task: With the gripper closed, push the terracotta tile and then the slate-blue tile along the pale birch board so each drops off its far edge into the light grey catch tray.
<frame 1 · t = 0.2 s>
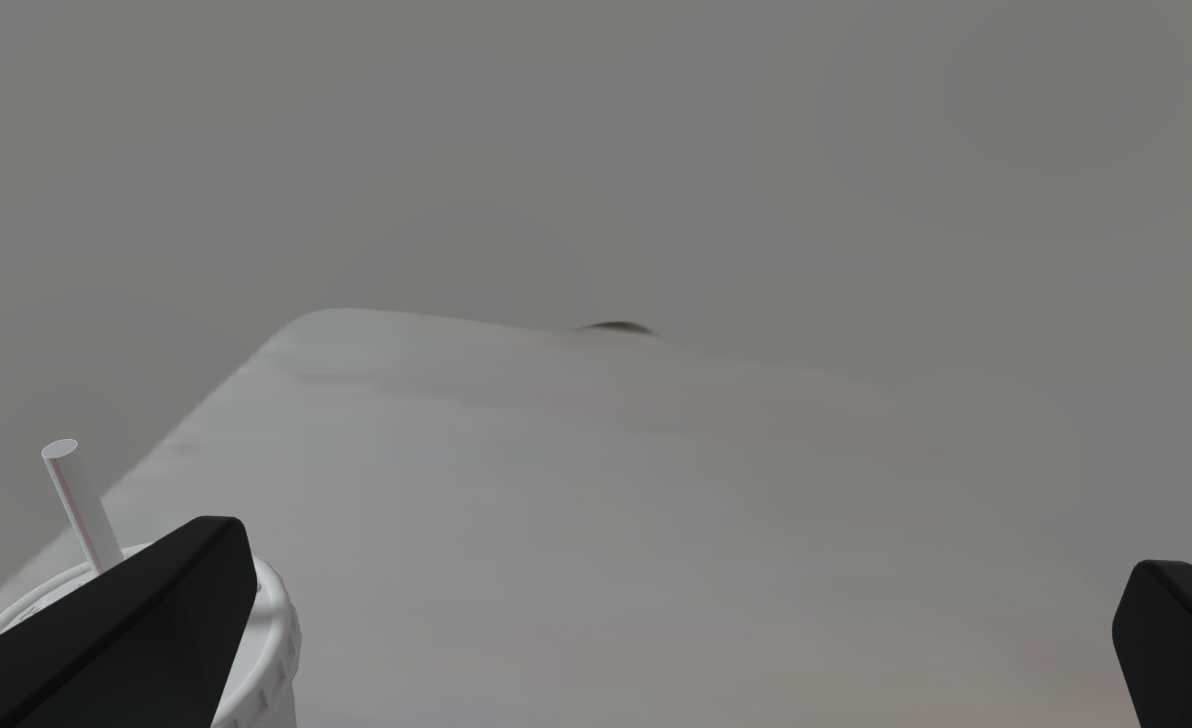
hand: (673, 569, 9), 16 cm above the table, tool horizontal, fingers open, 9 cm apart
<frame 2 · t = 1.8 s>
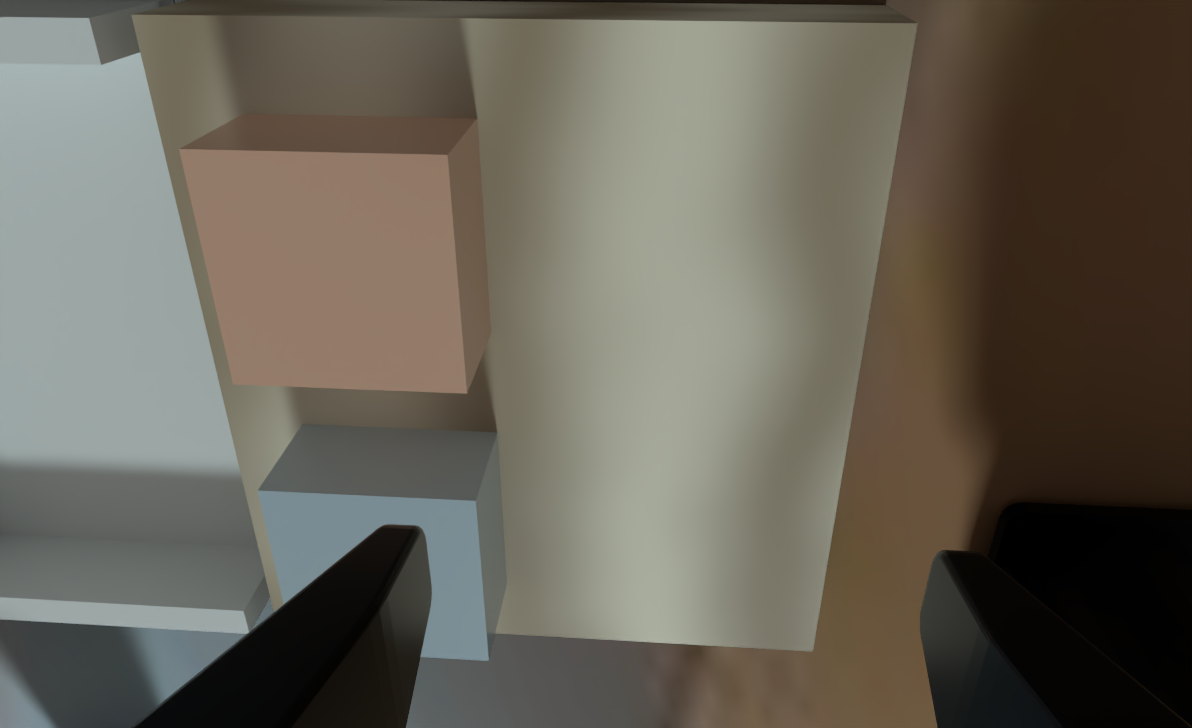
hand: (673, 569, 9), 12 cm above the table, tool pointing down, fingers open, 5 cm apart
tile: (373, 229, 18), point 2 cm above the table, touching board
tray: (69, 317, 22), on the table
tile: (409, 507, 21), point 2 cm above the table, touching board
board: (542, 333, 21), on the table
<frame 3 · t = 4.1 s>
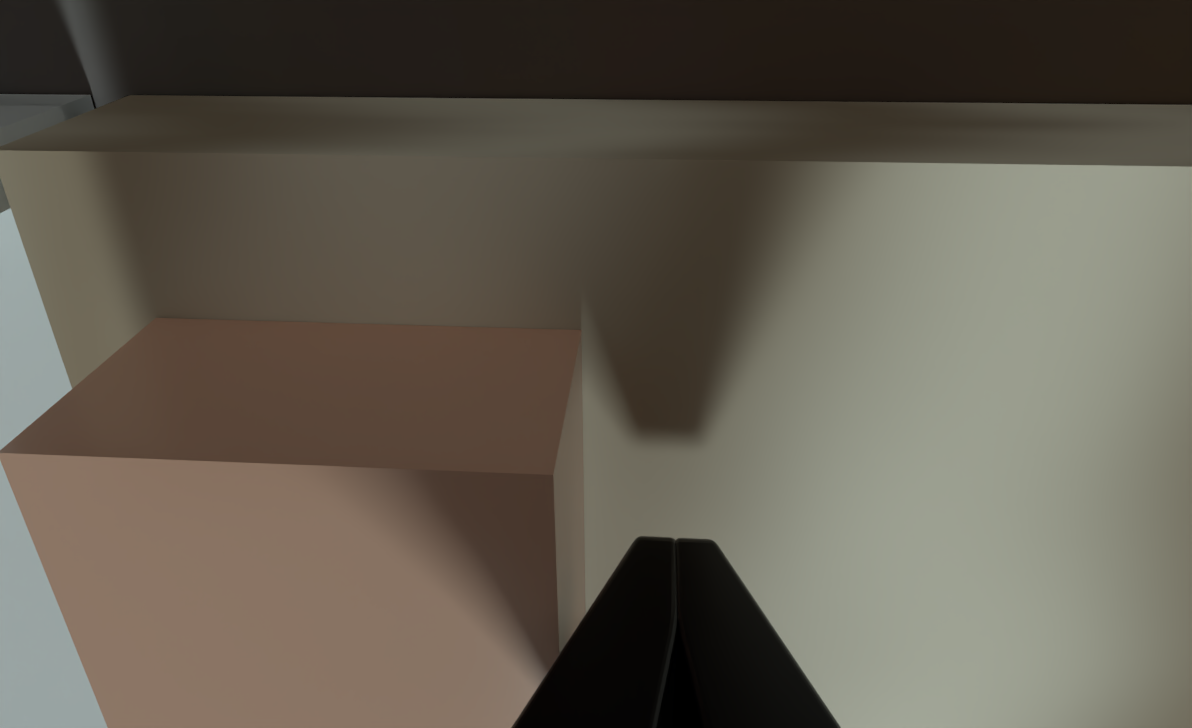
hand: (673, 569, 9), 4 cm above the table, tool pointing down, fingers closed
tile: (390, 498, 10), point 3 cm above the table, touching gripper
board: (682, 587, 14), on the table
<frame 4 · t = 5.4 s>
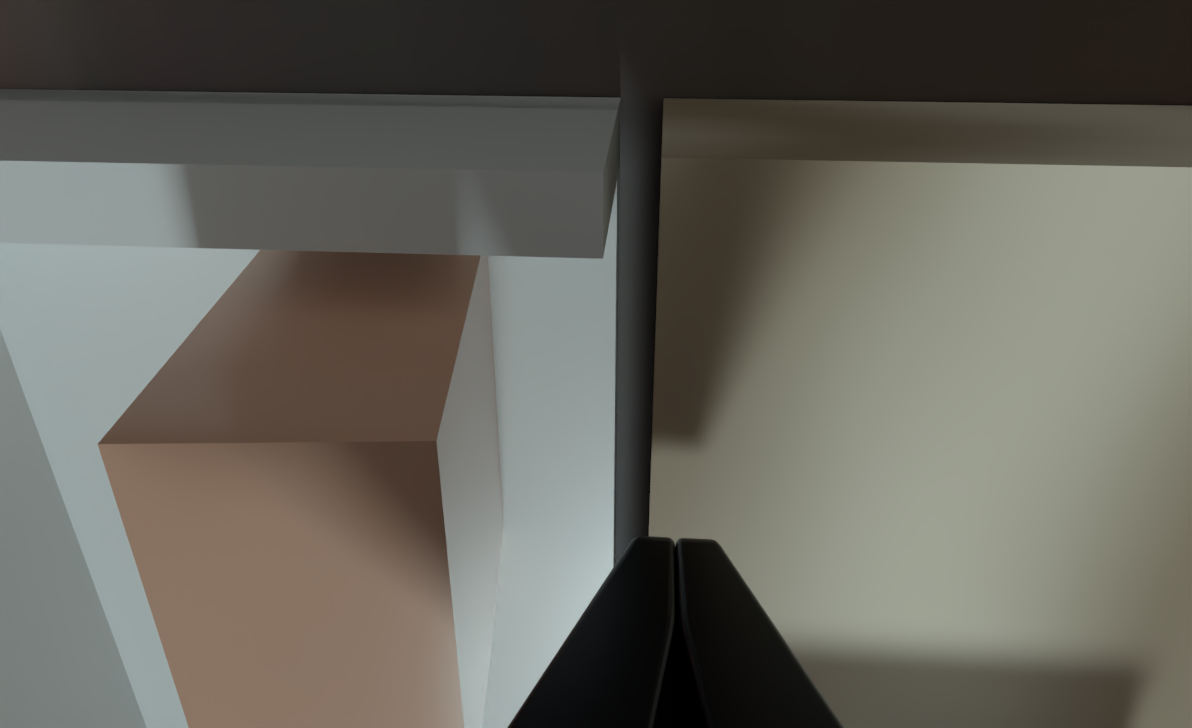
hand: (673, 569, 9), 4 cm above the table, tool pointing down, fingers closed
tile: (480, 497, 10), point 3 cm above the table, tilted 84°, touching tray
tray: (336, 569, 14), on the table
board: (1108, 609, 13), on the table
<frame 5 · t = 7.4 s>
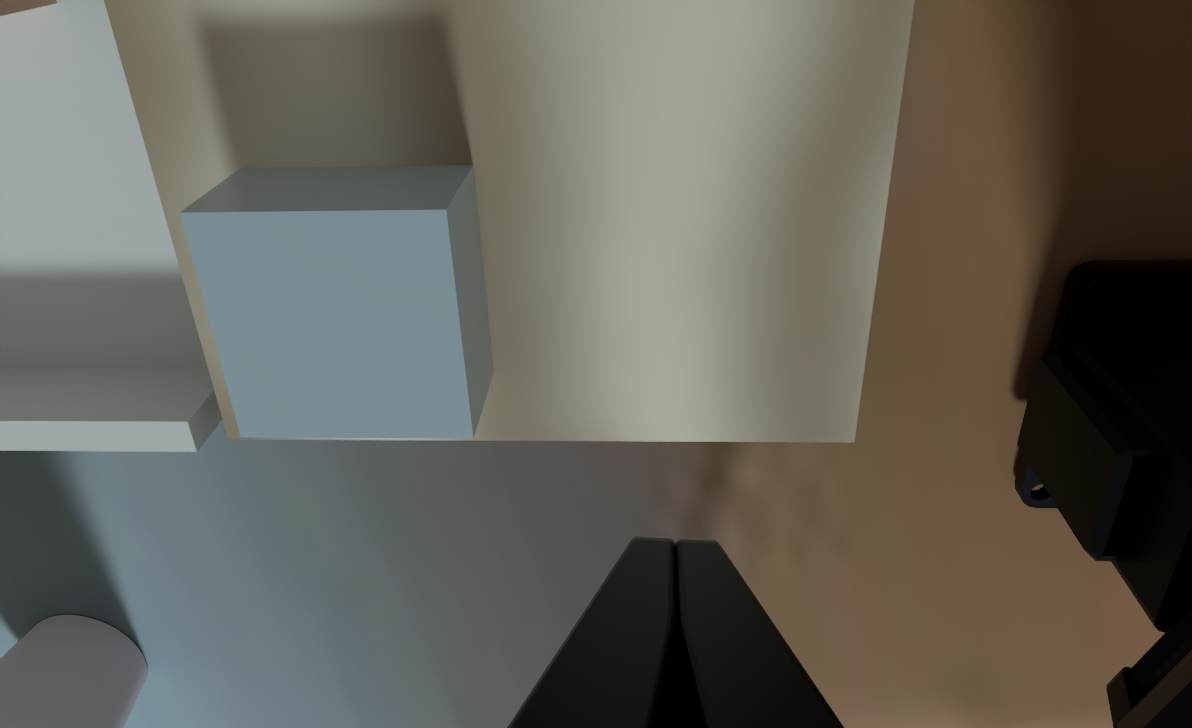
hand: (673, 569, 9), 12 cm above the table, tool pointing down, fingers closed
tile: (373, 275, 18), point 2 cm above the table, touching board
smoothie: (91, 652, 28), on the table
board: (524, 69, 18), on the table
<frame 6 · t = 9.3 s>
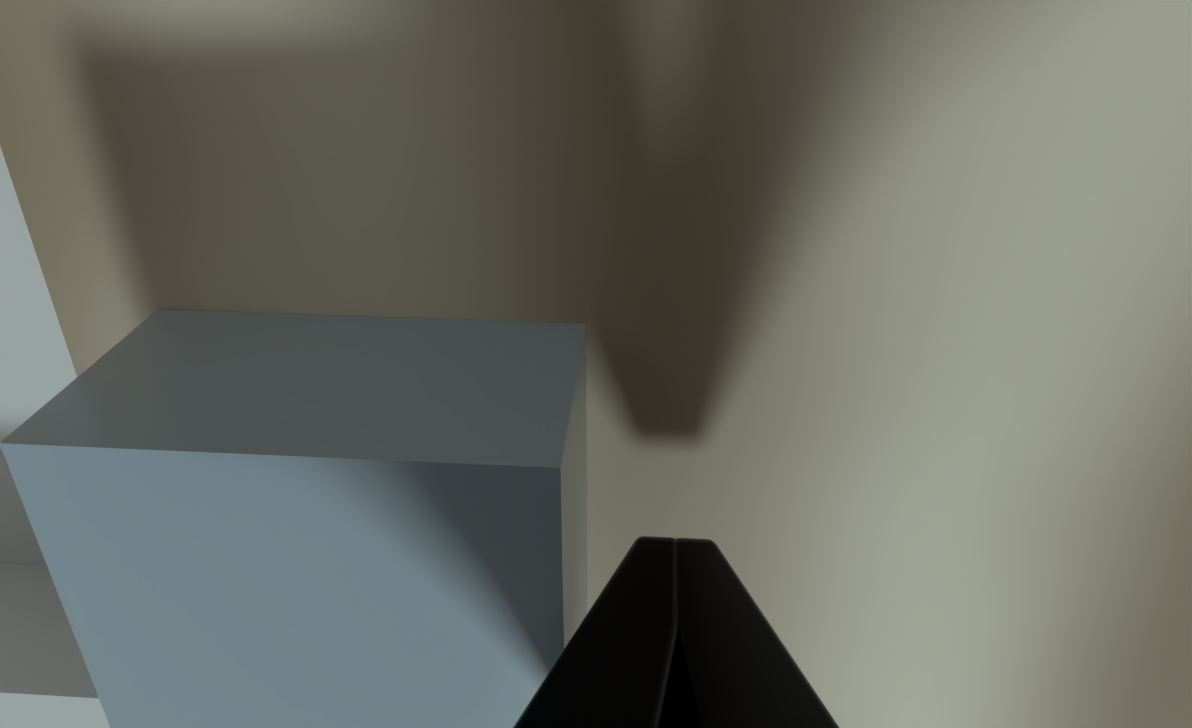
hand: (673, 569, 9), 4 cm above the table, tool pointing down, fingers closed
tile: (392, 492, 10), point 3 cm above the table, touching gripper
board: (716, 139, 10), on the table
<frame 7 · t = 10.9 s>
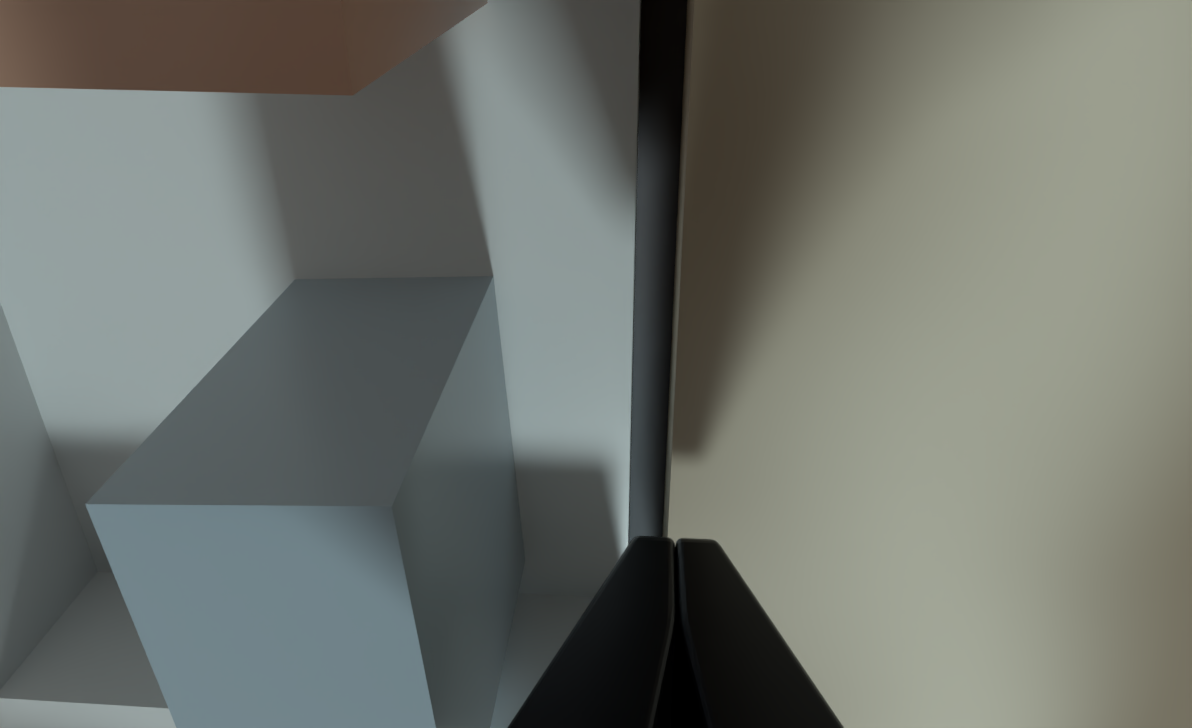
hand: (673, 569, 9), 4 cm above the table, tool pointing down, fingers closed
tray: (267, 132, 11), on the table
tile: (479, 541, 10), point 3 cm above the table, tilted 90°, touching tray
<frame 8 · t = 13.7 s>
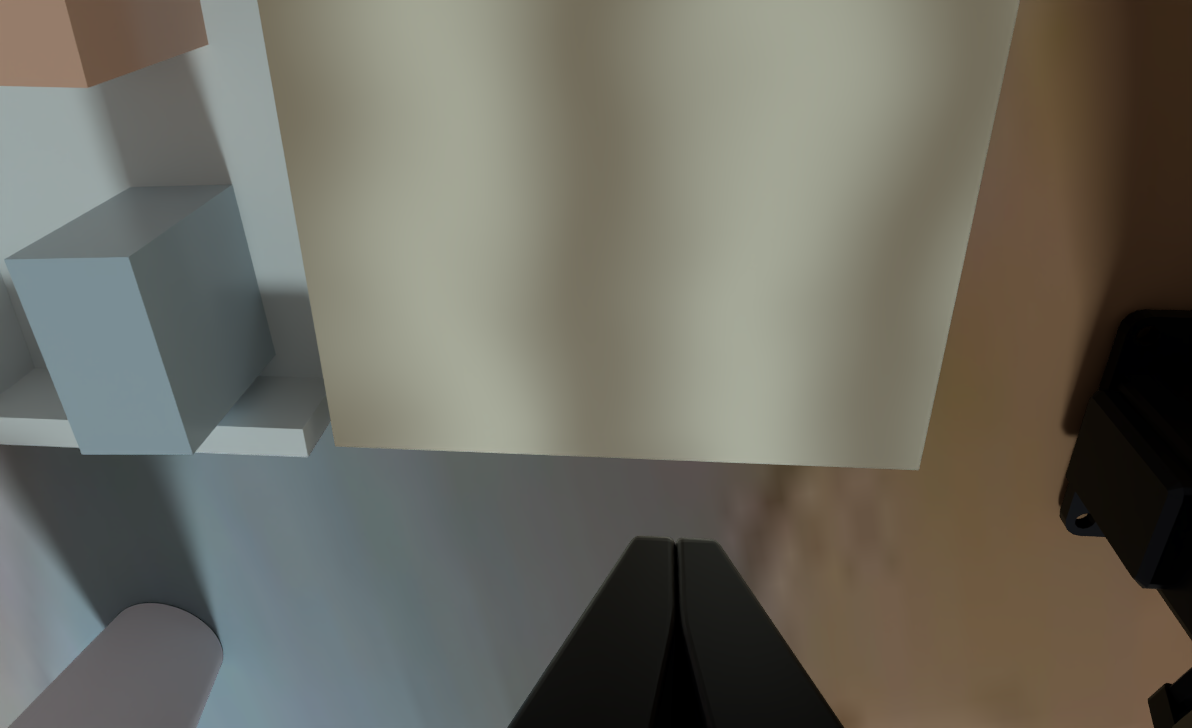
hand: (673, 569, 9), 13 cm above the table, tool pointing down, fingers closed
tray: (113, 109, 20), on the table
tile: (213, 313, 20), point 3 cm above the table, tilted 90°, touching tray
smoothie: (171, 639, 29), on the table
board: (630, 117, 20), on the table
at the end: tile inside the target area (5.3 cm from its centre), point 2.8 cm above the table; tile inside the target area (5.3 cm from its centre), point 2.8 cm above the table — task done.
